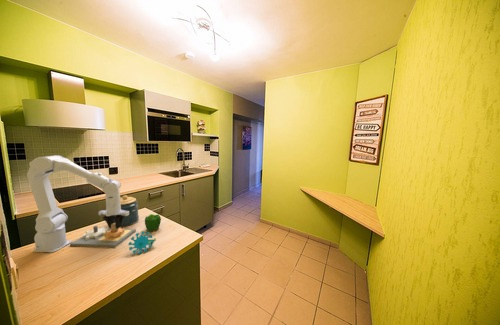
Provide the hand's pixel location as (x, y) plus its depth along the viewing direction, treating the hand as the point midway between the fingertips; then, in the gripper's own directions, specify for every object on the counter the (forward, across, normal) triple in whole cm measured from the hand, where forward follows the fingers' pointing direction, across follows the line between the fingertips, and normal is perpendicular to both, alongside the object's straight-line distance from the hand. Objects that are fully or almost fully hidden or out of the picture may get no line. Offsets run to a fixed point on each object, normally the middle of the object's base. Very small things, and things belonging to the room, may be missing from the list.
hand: (115, 227), depth 85 cm
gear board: (+5, -4, -1) cm, 7 cm away
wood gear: (+3, 0, -1) cm, 3 cm away
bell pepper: (+6, +14, +9) cm, 18 cm away
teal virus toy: (+6, +20, -9) cm, 23 cm away
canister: (+6, -6, +16) cm, 18 cm away
